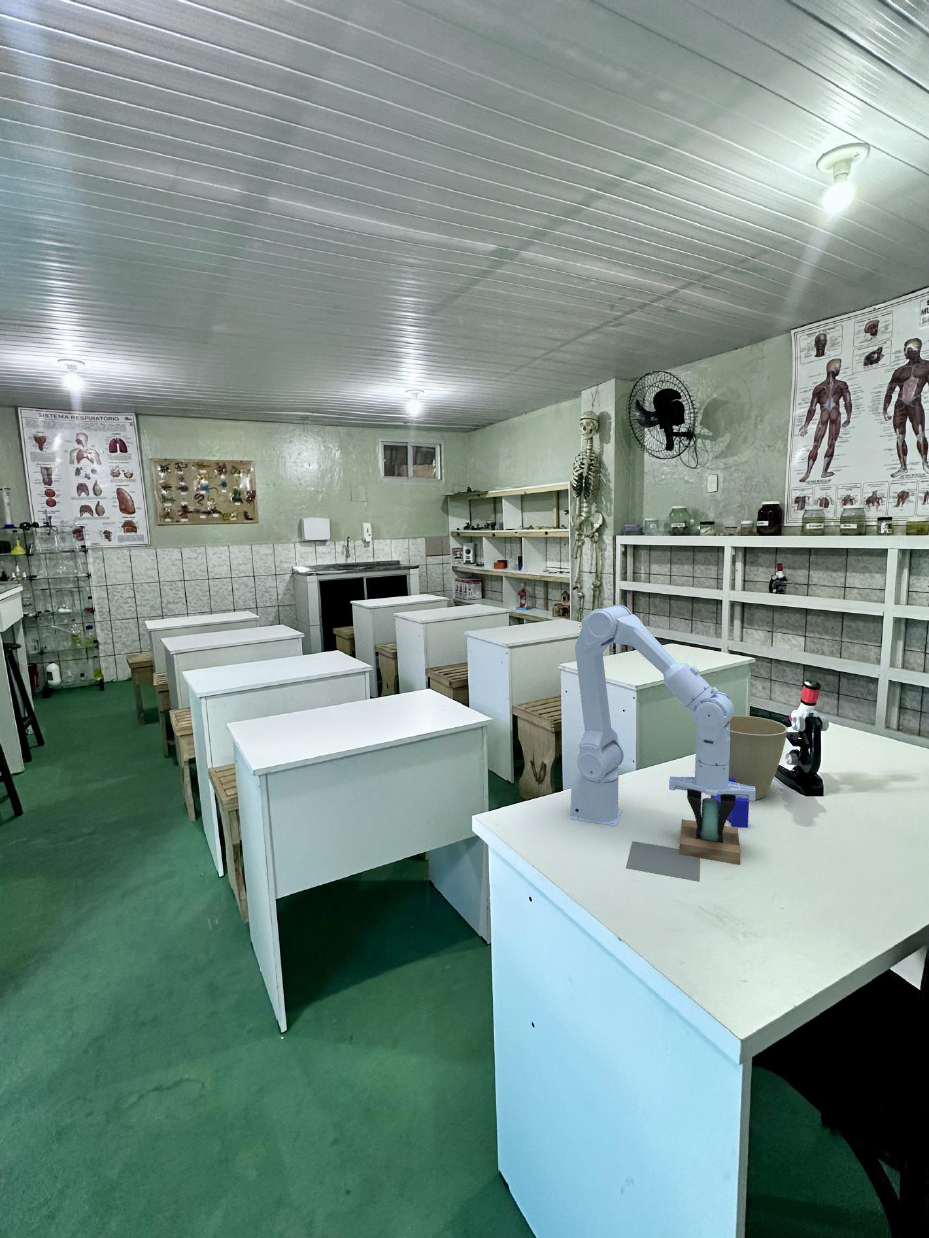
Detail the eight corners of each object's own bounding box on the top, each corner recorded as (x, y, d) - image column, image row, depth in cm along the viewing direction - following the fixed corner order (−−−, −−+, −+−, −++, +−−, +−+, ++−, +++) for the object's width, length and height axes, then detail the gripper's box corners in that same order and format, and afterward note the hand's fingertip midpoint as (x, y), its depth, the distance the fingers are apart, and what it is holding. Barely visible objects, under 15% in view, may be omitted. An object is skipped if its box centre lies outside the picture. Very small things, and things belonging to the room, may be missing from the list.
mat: (625, 870, 103) (625, 867, 103) (632, 843, 113) (632, 841, 113) (699, 883, 99) (699, 881, 99) (700, 854, 108) (700, 852, 108)
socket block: (679, 856, 108) (679, 843, 107) (681, 831, 117) (681, 819, 116) (739, 866, 104) (740, 853, 104) (737, 839, 113) (737, 827, 113)
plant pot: (799, 804, 128) (803, 732, 126) (734, 809, 126) (737, 737, 124) (757, 777, 142) (760, 713, 140) (698, 781, 140) (700, 716, 138)
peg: (700, 844, 109) (701, 803, 108) (701, 837, 112) (702, 796, 111) (717, 847, 108) (719, 806, 107) (718, 840, 111) (720, 799, 110)
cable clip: (710, 802, 130) (711, 776, 129) (732, 804, 129) (733, 777, 128) (723, 828, 118) (724, 800, 117) (747, 830, 117) (749, 801, 116)
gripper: (668, 762, 107) (667, 833, 109) (758, 773, 102) (754, 847, 104) (671, 750, 114) (669, 817, 115) (754, 759, 108) (751, 829, 110)
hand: (709, 830), depth 110 cm, fingers closed on peg, 3 cm apart
